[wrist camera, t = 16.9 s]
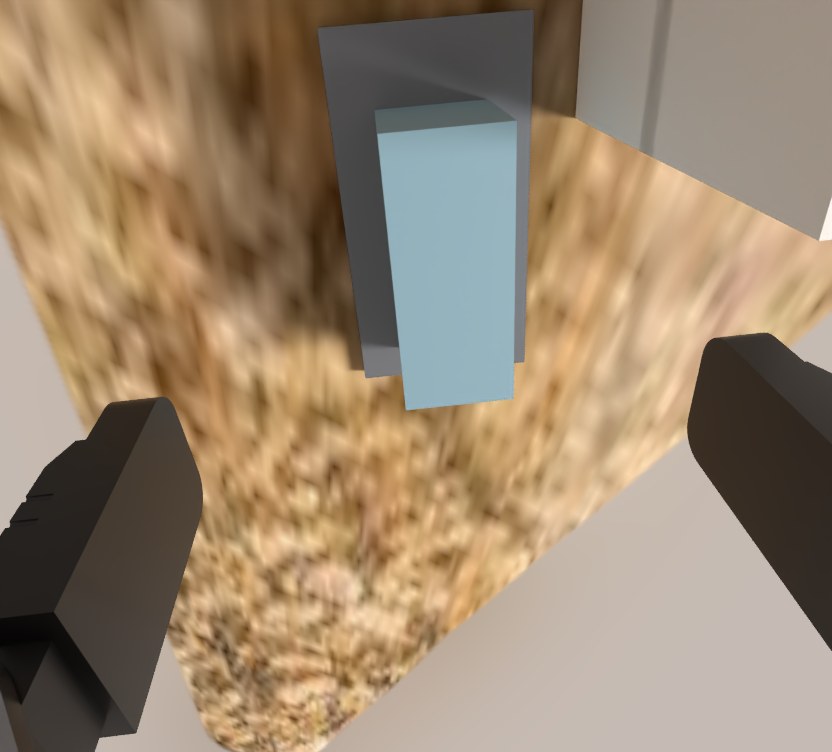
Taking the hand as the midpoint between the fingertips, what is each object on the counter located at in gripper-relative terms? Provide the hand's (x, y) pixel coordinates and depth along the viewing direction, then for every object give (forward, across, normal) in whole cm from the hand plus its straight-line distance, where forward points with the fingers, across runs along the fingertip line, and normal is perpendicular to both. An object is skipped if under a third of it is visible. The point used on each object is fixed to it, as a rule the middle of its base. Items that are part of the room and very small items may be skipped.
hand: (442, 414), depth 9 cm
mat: (+22, -2, +4) cm, 22 cm away
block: (+21, -2, +5) cm, 22 cm away
